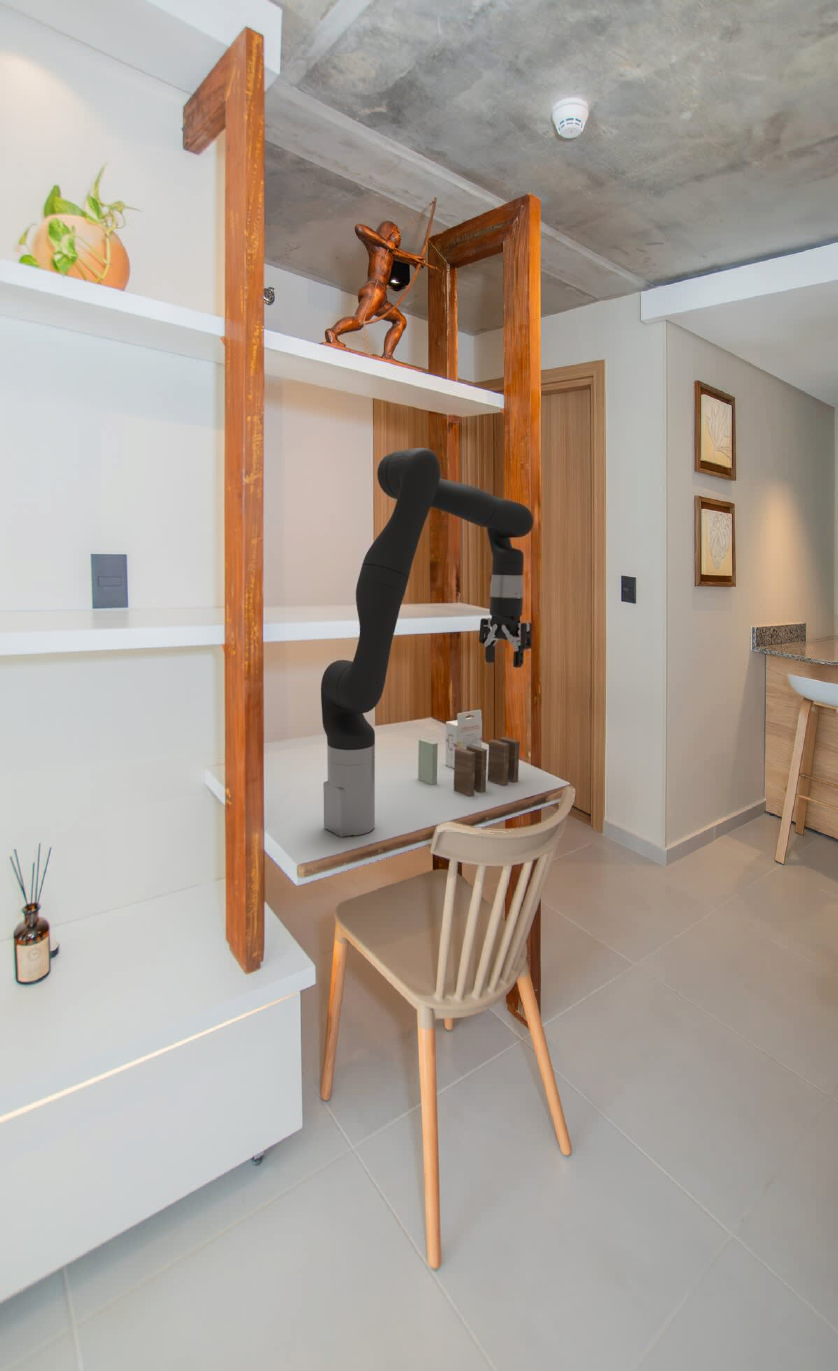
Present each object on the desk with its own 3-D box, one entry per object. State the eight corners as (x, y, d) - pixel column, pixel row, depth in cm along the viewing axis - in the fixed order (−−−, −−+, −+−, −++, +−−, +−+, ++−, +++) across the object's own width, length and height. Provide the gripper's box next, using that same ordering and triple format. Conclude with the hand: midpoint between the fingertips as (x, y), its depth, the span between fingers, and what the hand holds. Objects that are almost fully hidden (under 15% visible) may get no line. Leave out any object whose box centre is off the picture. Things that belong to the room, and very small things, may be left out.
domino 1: (469, 796, 149) (470, 753, 147) (453, 790, 153) (454, 748, 151) (474, 794, 150) (475, 752, 148) (458, 788, 154) (459, 747, 152)
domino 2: (480, 792, 152) (482, 750, 150) (465, 786, 155) (466, 745, 153) (485, 791, 153) (487, 749, 151) (470, 785, 156) (471, 744, 154)
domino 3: (502, 785, 156) (504, 745, 155) (487, 780, 160) (489, 740, 158) (507, 784, 158) (509, 743, 156) (492, 778, 161) (493, 739, 159)
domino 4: (513, 782, 159) (515, 742, 157) (498, 777, 163) (499, 737, 161) (517, 780, 160) (519, 741, 158) (502, 775, 164) (504, 736, 162)
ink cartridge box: (469, 759, 176) (470, 705, 174) (481, 764, 173) (483, 709, 170) (444, 765, 171) (445, 709, 169) (456, 770, 168) (457, 713, 165)
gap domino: (431, 784, 156) (432, 744, 154) (418, 779, 160) (418, 739, 158) (436, 783, 157) (437, 743, 156) (423, 778, 161) (423, 738, 159)
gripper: (473, 593, 155) (470, 662, 158) (519, 597, 144) (516, 670, 147) (494, 593, 159) (492, 659, 162) (541, 596, 149) (537, 667, 152)
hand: (503, 664), depth 155 cm, fingers open, 8 cm apart
